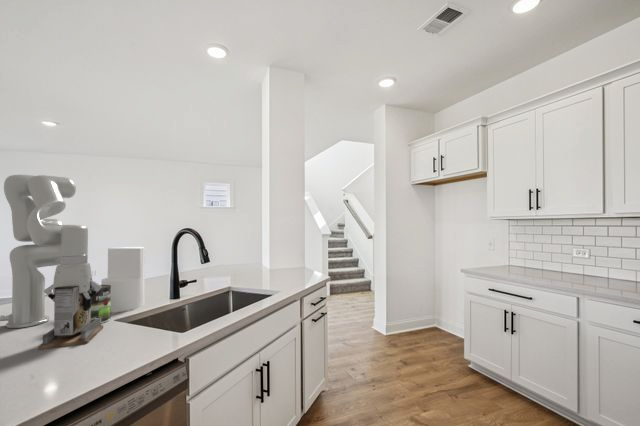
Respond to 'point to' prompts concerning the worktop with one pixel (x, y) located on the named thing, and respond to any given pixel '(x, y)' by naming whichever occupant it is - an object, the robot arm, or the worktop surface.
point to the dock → (72, 336)
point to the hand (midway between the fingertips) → (73, 310)
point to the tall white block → (126, 277)
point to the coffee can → (101, 303)
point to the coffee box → (70, 311)
